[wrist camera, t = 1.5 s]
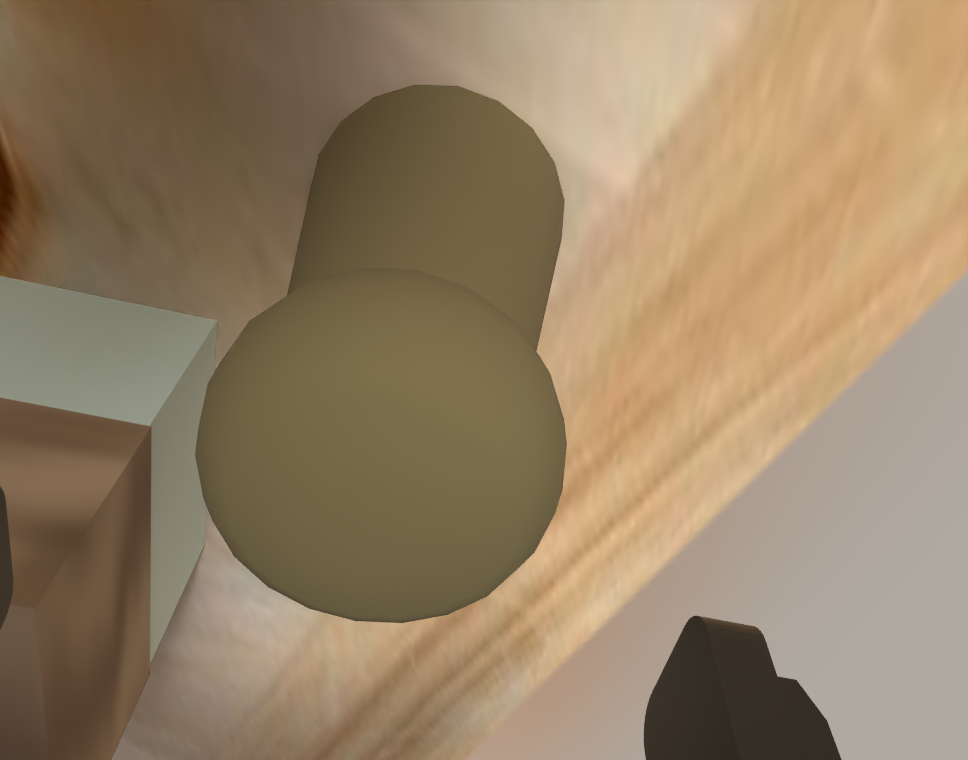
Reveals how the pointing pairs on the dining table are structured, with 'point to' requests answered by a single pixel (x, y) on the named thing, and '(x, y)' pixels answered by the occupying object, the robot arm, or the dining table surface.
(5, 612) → the robot arm
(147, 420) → the tower base block
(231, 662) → the dining table surface
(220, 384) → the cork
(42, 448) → the tower top block
